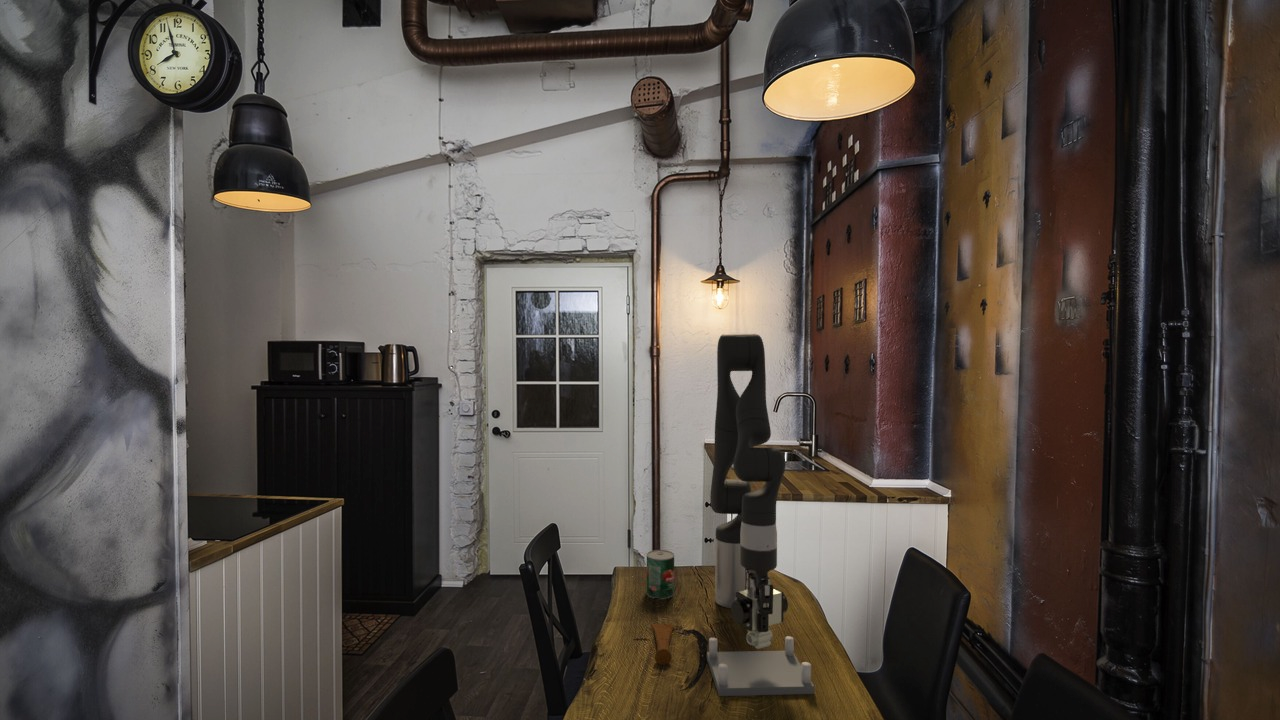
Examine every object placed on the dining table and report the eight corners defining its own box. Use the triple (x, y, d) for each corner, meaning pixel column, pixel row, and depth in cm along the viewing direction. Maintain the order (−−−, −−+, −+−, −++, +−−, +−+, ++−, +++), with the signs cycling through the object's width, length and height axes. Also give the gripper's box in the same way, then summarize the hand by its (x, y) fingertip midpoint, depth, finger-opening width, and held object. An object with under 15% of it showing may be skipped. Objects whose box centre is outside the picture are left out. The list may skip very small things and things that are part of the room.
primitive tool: (651, 625, 143) (651, 611, 143) (673, 626, 143) (673, 612, 143) (654, 667, 124) (654, 651, 124) (680, 667, 124) (680, 651, 124)
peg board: (718, 696, 112) (719, 670, 112) (706, 658, 126) (706, 636, 126) (814, 693, 113) (814, 668, 113) (791, 657, 127) (792, 634, 127)
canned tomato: (674, 599, 158) (675, 559, 158) (646, 599, 158) (646, 559, 158) (673, 588, 165) (673, 550, 165) (646, 587, 166) (646, 549, 166)
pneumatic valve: (788, 643, 120) (788, 585, 120) (744, 656, 114) (744, 596, 115) (770, 632, 125) (771, 576, 125) (727, 644, 119) (727, 586, 119)
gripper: (786, 554, 113) (786, 639, 113) (766, 533, 127) (766, 608, 127) (749, 555, 112) (748, 640, 112) (733, 533, 127) (732, 608, 127)
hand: (758, 623), depth 120 cm, fingers closed on pneumatic valve, 6 cm apart
